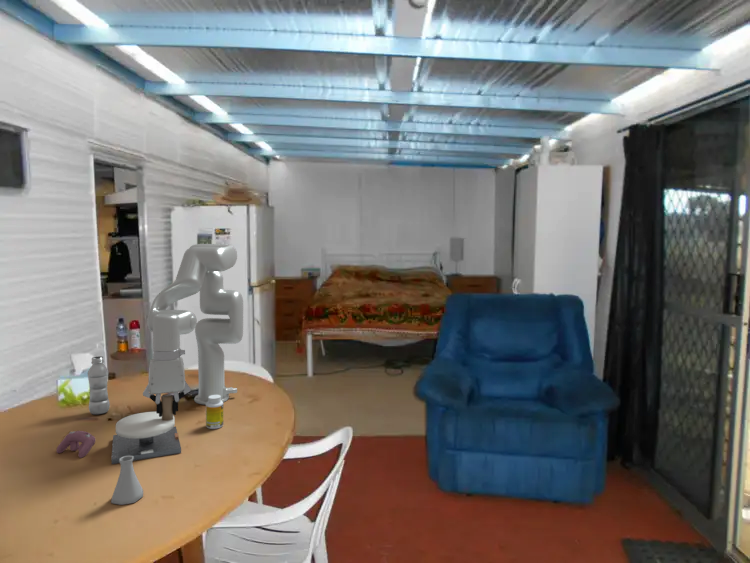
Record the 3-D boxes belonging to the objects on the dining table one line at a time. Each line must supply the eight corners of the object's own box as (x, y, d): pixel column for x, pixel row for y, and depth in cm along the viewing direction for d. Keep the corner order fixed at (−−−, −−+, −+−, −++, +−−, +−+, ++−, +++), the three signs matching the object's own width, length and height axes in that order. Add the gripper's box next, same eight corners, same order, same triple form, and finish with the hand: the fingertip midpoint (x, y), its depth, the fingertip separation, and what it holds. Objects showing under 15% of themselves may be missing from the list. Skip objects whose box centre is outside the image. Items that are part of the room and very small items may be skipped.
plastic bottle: (114, 410, 180) (112, 355, 178) (102, 417, 173) (100, 360, 171) (97, 409, 180) (95, 354, 179) (84, 416, 174) (82, 359, 172)
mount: (175, 430, 163) (175, 414, 162) (181, 453, 147) (180, 434, 146) (113, 439, 155) (112, 422, 154) (111, 464, 139) (111, 445, 138)
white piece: (118, 421, 155) (117, 392, 154) (174, 415, 161) (173, 387, 160) (113, 441, 140) (112, 410, 139) (174, 434, 146) (174, 404, 145)
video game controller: (92, 459, 145) (100, 434, 148) (79, 458, 141) (88, 432, 143) (66, 453, 148) (75, 429, 151) (53, 452, 144) (62, 427, 147)
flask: (118, 490, 125) (117, 452, 124) (148, 489, 126) (147, 451, 125) (105, 506, 118) (103, 465, 117) (137, 505, 118) (136, 464, 117)
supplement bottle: (224, 428, 165) (223, 398, 164) (206, 430, 164) (205, 399, 163) (223, 422, 171) (222, 393, 170) (205, 424, 169) (205, 394, 168)
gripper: (194, 350, 158) (194, 407, 159) (136, 354, 151) (137, 414, 152) (196, 355, 151) (197, 415, 152) (136, 359, 144) (137, 422, 145)
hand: (167, 413), depth 152 cm, fingers open, 3 cm apart
